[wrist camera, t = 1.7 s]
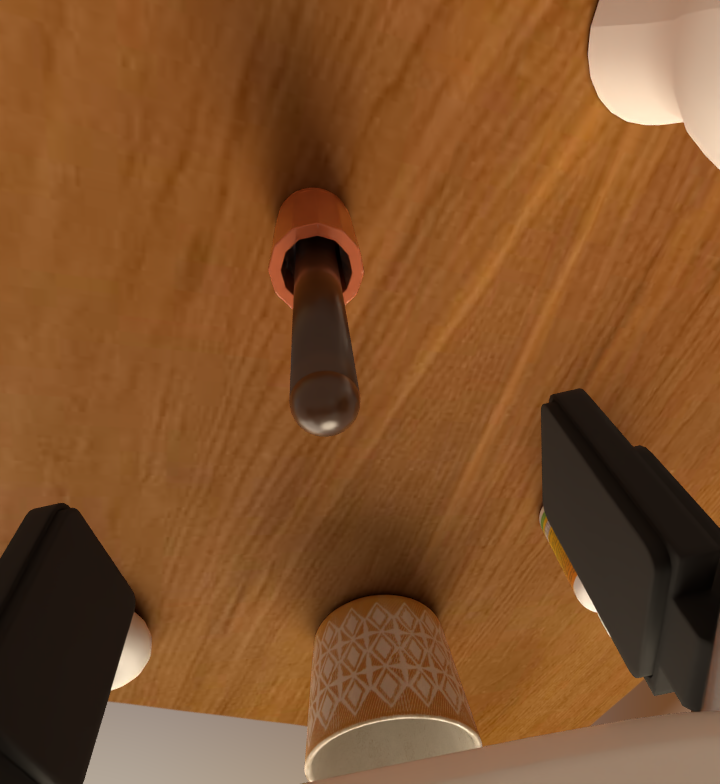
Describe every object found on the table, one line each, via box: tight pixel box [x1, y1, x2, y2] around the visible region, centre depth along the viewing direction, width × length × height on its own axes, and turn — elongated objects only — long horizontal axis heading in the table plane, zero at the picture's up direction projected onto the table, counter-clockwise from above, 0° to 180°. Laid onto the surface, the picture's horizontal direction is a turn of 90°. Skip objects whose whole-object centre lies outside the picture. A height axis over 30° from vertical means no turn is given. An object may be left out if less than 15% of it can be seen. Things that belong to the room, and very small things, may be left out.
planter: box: [305, 595, 482, 782], centre depth 42 cm, size 13×13×10 cm
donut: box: [111, 612, 152, 690], centre depth 42 cm, size 10×4×10 cm
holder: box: [268, 187, 364, 309], centre depth 25 cm, size 4×4×7 cm
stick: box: [290, 236, 360, 437], centre depth 20 cm, size 2×2×17 cm
